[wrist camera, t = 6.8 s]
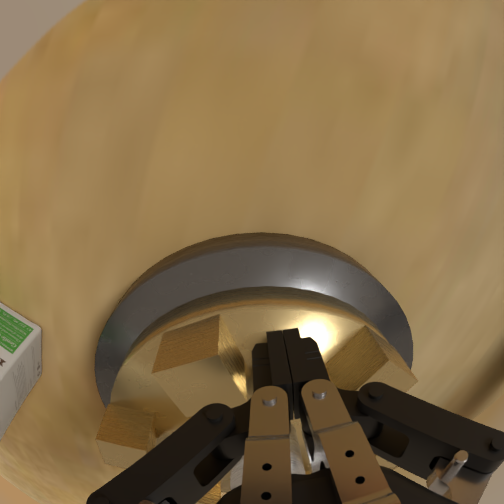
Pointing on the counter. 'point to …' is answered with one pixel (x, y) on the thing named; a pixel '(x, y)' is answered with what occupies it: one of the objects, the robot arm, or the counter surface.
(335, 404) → the robot arm
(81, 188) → the counter surface
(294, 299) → the brass lugged disc
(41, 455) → the counter surface
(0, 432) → the skincare box
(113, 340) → the housing
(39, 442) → the counter surface
